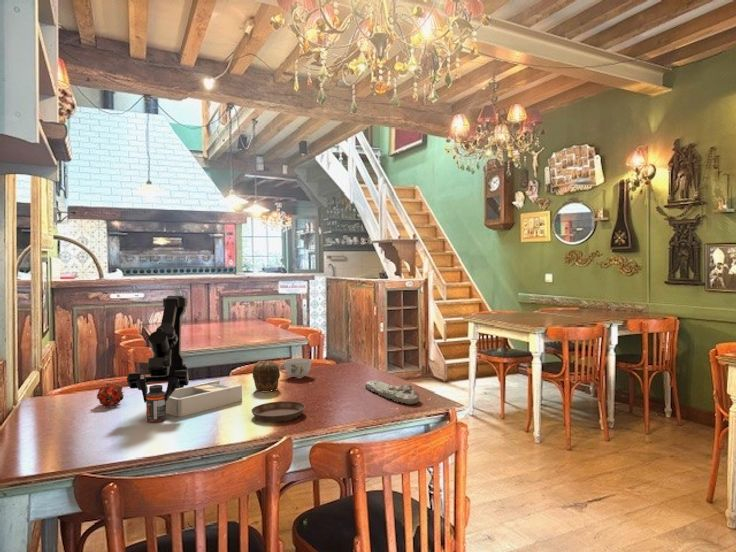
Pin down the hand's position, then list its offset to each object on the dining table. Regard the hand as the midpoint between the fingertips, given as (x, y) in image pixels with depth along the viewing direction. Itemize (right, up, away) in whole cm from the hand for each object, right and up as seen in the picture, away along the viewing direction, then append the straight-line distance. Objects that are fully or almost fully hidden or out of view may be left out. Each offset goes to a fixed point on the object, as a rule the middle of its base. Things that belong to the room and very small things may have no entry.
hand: (155, 401), depth 162 cm
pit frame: (+8, -6, +19) cm, 22 cm away
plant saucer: (+39, -7, +5) cm, 40 cm away
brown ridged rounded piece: (+28, -6, +42) cm, 50 cm away
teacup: (+36, -6, +66) cm, 75 cm away
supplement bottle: (0, -7, +1) cm, 7 cm away
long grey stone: (+78, -6, +31) cm, 84 cm away
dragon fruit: (-25, -7, +21) cm, 34 cm away
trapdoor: (+11, -4, +24) cm, 27 cm away
